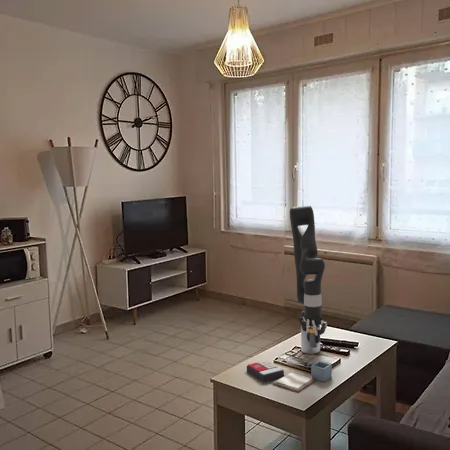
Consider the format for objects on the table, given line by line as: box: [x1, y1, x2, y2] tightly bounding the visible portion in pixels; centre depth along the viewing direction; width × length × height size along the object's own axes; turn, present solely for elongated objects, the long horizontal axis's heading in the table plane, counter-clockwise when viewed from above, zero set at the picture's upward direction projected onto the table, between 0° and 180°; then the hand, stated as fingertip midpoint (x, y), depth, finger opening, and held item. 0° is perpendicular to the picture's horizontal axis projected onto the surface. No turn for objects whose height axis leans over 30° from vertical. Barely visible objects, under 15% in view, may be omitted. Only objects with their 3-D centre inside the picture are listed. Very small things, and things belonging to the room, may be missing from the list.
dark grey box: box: [246, 360, 285, 384], centre depth 226 cm, size 11×4×15 cm
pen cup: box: [310, 360, 332, 383], centre depth 219 cm, size 6×6×6 cm
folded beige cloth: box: [272, 371, 317, 393], centre depth 216 cm, size 14×13×1 cm
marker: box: [309, 327, 317, 348], centre depth 217 cm, size 3×3×8 cm
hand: (313, 341), depth 217 cm, fingers closed on marker, 3 cm apart
